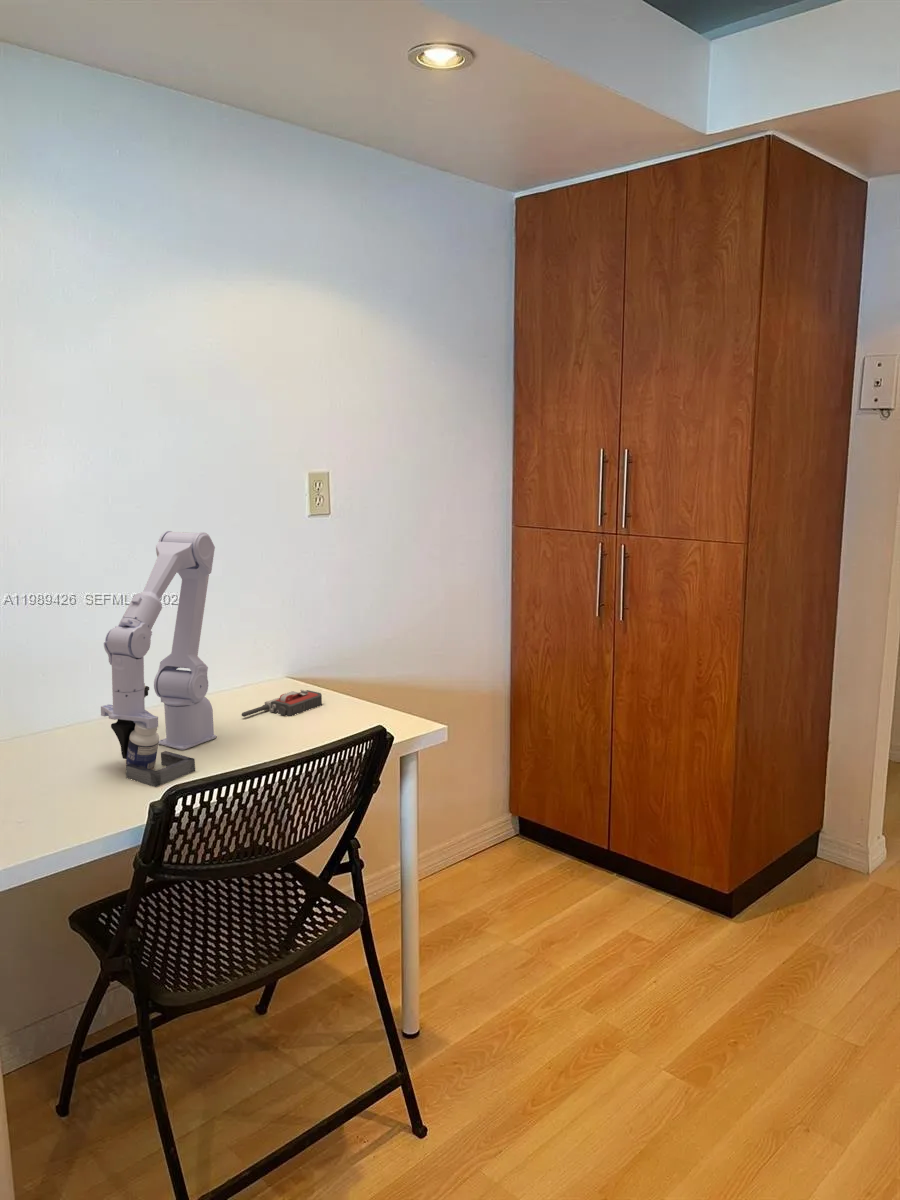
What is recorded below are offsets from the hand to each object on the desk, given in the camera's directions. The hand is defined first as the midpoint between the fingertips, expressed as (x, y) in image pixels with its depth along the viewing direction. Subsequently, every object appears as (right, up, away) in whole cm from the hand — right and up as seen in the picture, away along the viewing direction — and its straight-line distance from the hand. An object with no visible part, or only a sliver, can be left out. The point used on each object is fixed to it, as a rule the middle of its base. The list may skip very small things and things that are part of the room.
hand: (129, 757), depth 173 cm
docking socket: (+6, -3, -2) cm, 7 cm away
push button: (-6, +2, +25) cm, 25 cm away
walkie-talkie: (+23, +4, +37) cm, 44 cm away
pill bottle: (+2, -2, 0) cm, 3 cm away
